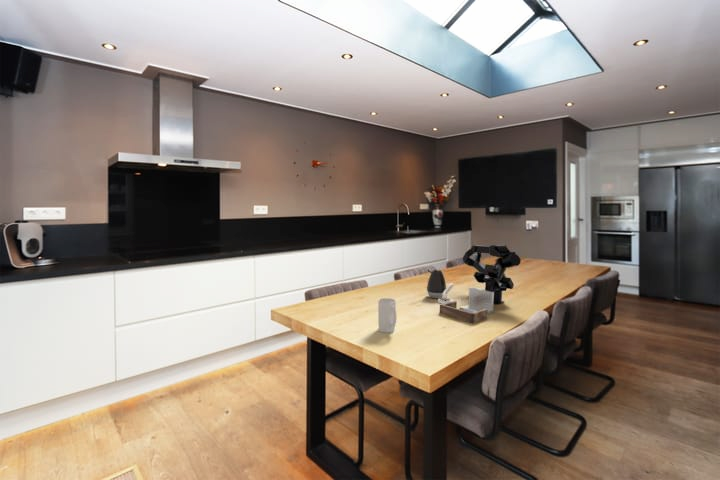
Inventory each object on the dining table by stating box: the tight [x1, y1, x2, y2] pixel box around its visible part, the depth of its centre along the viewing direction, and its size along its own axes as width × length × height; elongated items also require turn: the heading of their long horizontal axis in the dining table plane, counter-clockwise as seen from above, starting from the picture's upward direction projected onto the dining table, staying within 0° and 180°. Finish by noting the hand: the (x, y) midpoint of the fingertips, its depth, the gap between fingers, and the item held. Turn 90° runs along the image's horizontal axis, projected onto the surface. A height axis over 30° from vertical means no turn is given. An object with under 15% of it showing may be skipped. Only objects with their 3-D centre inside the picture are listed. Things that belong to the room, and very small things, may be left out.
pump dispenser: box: [426, 268, 447, 300], centre depth 196 cm, size 10×10×15 cm
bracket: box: [459, 286, 494, 315], centre depth 171 cm, size 8×12×10 cm
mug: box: [377, 297, 398, 334], centre depth 144 cm, size 10×7×12 cm, turn 27°
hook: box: [437, 282, 455, 305], centre depth 186 cm, size 8×12×7 cm
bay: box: [439, 300, 488, 324], centre depth 165 cm, size 11×17×4 cm, turn 39°
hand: (485, 294), depth 175 cm, fingers closed
